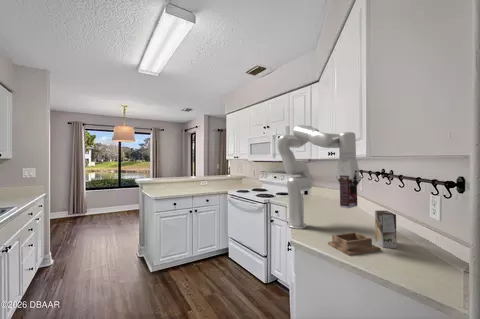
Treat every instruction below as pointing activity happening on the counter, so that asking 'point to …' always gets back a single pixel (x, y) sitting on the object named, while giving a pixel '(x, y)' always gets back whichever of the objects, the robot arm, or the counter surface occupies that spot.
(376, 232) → the coffee box
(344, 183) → the supplement box
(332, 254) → the counter surface
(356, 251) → the brown wooden tray
